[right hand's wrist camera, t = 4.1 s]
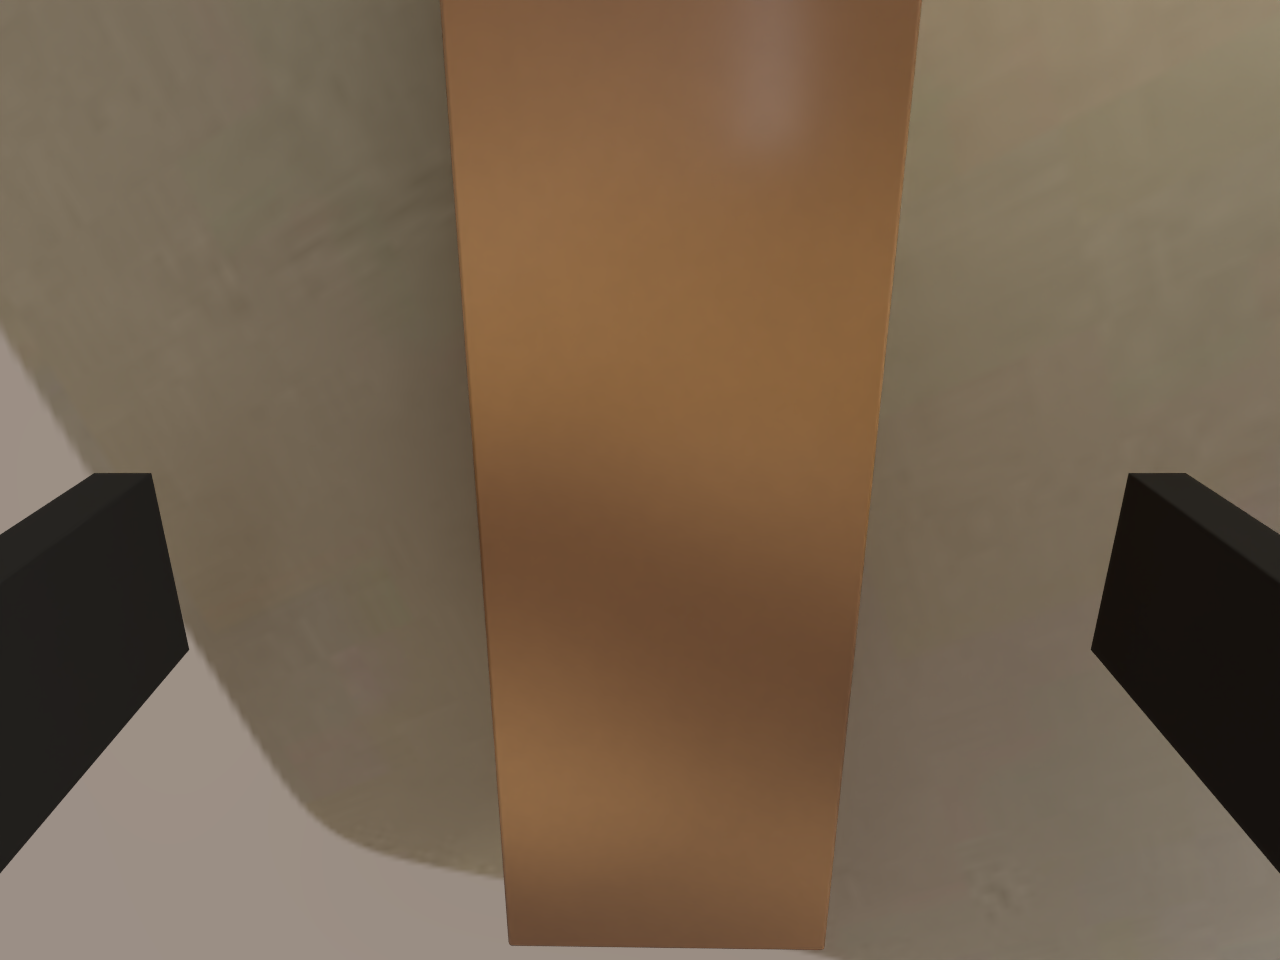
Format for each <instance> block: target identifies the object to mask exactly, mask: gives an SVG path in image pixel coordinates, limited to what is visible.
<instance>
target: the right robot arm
mask: <svg viewBox="0 0 1280 960" xmlns="http://www.w3.org/2000/svg"><path fill="white" fill-rule="evenodd" d="M188 650H189V647H188V642H187V637H186V633H185V628H184V623H183V619H182V614H181V610H180V605H179V600H178V596H177V591H176V586H175V582H174V577H173V572H172V568H171V563H170V558H169V554H168V549H167V544H166V540H165V535H164V530H163V526H162V521H161V516H160V512H159V507H158V502H157V498H156V493H155V488H154V484H153V479H152V474H151V473H94V474H92V475H91V476H89V477H88V478H86V479H85V480H83V481H82V482H80V483H79V484H77V485H76V486H74V487H73V488H71V489H69V490H68V491H66V492H65V493H63V494H62V495H60V496H59V497H57V498H56V499H54V500H53V501H51V502H50V503H48V504H47V505H45V506H44V507H42V508H40V509H39V510H37V511H36V512H34V513H33V514H31V515H30V516H28V517H27V518H25V519H24V520H22V521H21V522H19V523H17V524H16V525H15V526H13V527H11V528H10V529H8V530H7V531H5V532H4V533H2V534H1V535H0V873H1V872H2V870H3V869H4V868H5V867H6V866H7V865H8V863H9V862H10V861H11V860H12V859H13V857H14V856H15V855H16V854H17V853H18V851H19V850H20V849H21V848H22V847H23V846H24V844H25V843H26V842H27V841H28V840H29V839H30V837H31V836H32V835H33V834H34V833H35V831H36V830H37V829H38V828H39V827H40V826H41V824H42V823H43V822H44V821H45V819H46V818H47V817H48V816H49V815H50V814H51V812H52V811H53V810H54V809H55V808H56V807H57V805H58V804H59V803H60V802H61V801H62V799H63V798H64V797H65V796H66V795H67V793H68V792H69V791H70V790H71V789H72V788H73V786H74V785H75V784H76V783H77V782H78V780H79V779H80V778H81V777H82V776H83V775H84V773H85V772H86V771H87V770H88V769H89V768H90V766H91V765H92V764H93V763H94V762H95V760H96V759H97V758H98V757H99V756H100V755H101V753H102V752H103V751H104V750H105V749H106V747H107V746H108V745H109V744H110V743H111V741H112V740H113V739H114V738H115V737H116V736H117V734H118V733H119V732H120V731H121V730H122V728H123V727H124V726H125V725H126V724H127V723H128V721H129V720H130V719H131V718H132V717H133V715H134V714H135V713H136V712H137V711H138V710H139V708H140V707H141V706H142V705H143V704H144V702H145V701H146V700H147V699H148V698H149V697H150V695H151V694H152V693H153V692H154V691H155V689H156V688H157V687H158V686H159V685H160V684H161V682H162V681H163V680H164V679H165V678H166V676H167V675H168V674H169V673H170V672H171V670H172V669H173V668H174V667H175V666H176V665H177V663H178V662H179V661H180V660H181V659H182V657H183V656H184V655H185V654H186V653H187V652H188ZM1091 650H1092V652H1093V653H1094V654H1095V655H1096V656H1097V657H1098V659H1099V660H1100V661H1101V662H1102V663H1103V665H1104V666H1105V667H1106V668H1107V669H1108V671H1109V672H1110V673H1111V674H1112V675H1113V676H1114V678H1115V679H1116V680H1117V681H1118V682H1119V684H1120V685H1121V686H1122V687H1123V688H1124V689H1125V691H1126V692H1127V693H1128V694H1129V695H1130V697H1131V698H1132V699H1133V700H1134V701H1135V702H1136V704H1137V705H1138V706H1139V707H1140V708H1141V710H1142V711H1143V712H1144V713H1145V714H1146V715H1147V717H1148V718H1149V719H1150V720H1151V721H1152V723H1153V724H1154V725H1155V726H1156V727H1157V728H1158V730H1159V731H1160V732H1161V733H1162V734H1163V736H1164V737H1165V738H1166V739H1167V740H1168V742H1169V743H1170V744H1171V745H1172V746H1173V747H1174V749H1175V750H1176V751H1177V752H1178V753H1179V755H1180V756H1181V757H1182V758H1183V759H1184V760H1185V762H1186V763H1187V764H1188V765H1189V766H1190V768H1191V769H1192V770H1193V771H1194V772H1195V773H1196V775H1197V776H1198V777H1199V778H1200V779H1201V781H1202V782H1203V783H1204V784H1205V785H1206V786H1207V788H1208V789H1209V790H1210V791H1211V792H1212V794H1213V795H1214V796H1215V797H1216V798H1217V799H1218V801H1219V802H1220V803H1221V804H1222V805H1223V807H1224V808H1225V809H1226V810H1227V811H1228V813H1229V814H1230V815H1231V816H1232V817H1233V818H1234V820H1235V821H1236V822H1237V823H1238V824H1239V826H1240V827H1241V828H1242V829H1243V830H1244V831H1245V833H1246V834H1247V835H1248V836H1249V837H1250V839H1251V840H1252V841H1253V842H1254V843H1255V844H1256V846H1257V847H1258V848H1259V849H1260V850H1261V852H1262V853H1263V854H1264V855H1265V856H1266V857H1267V859H1268V860H1269V861H1270V862H1271V863H1272V865H1273V866H1274V867H1275V868H1276V869H1277V870H1278V872H1279V873H1280V535H1279V534H1278V533H1276V532H1275V531H1273V530H1272V529H1270V528H1269V527H1267V526H1266V525H1264V524H1263V523H1261V522H1259V521H1258V520H1256V519H1255V518H1253V517H1252V516H1250V515H1249V514H1247V513H1246V512H1244V511H1243V510H1241V509H1240V508H1238V507H1237V506H1235V505H1233V504H1232V503H1230V502H1229V501H1227V500H1226V499H1224V498H1223V497H1221V496H1220V495H1218V494H1217V493H1215V492H1214V491H1212V490H1211V489H1209V488H1208V487H1206V486H1204V485H1203V484H1201V483H1200V482H1198V481H1197V480H1195V479H1194V478H1192V477H1191V476H1189V475H1188V474H1186V473H1129V474H1128V479H1127V484H1126V488H1125V493H1124V498H1123V502H1122V507H1121V512H1120V516H1119V521H1118V526H1117V530H1116V535H1115V540H1114V544H1113V549H1112V554H1111V558H1110V563H1109V568H1108V572H1107V577H1106V582H1105V586H1104V591H1103V596H1102V600H1101V605H1100V609H1099V614H1098V619H1097V623H1096V628H1095V633H1094V637H1093V642H1092V647H1091Z"/></svg>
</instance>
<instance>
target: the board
mask: <svg viewBox="0 0 1280 960" xmlns="http://www.w3.org/2000/svg"><path fill="white" fill-rule="evenodd" d="M921 5H922V0H440V11H441V24H442V38H443V52H444V65H445V79H446V93H447V106H448V120H449V134H450V147H451V161H452V174H453V188H454V202H455V215H456V229H457V243H458V256H459V270H460V284H461V297H462V311H463V325H464V338H465V352H466V366H467V379H468V393H469V407H470V420H471V434H472V448H473V461H474V475H475V489H476V502H477V516H478V530H479V543H480V557H481V571H482V584H483V598H484V612H485V625H486V639H487V653H488V666H489V680H490V694H491V707H492V721H493V735H494V748H495V762H496V776H497V789H498V803H499V817H500V830H501V844H502V858H503V871H504V885H505V898H506V912H507V926H508V939H509V944H510V945H512V946H580V947H650V948H724V949H795V950H822V949H824V946H825V936H826V926H827V917H828V907H829V897H830V888H831V878H832V868H833V859H834V849H835V839H836V829H837V820H838V810H839V800H840V791H841V781H842V771H843V762H844V752H845V742H846V732H847V723H848V713H849V703H850V694H851V684H852V674H853V665H854V655H855V645H856V635H857V626H858V616H859V606H860V597H861V587H862V577H863V568H864V558H865V548H866V538H867V529H868V519H869V509H870V500H871V490H872V480H873V471H874V461H875V451H876V441H877V432H878V422H879V412H880V403H881V393H882V383H883V374H884V364H885V354H886V344H887V335H888V325H889V315H890V306H891V296H892V286H893V276H894V267H895V257H896V247H897V238H898V228H899V218H900V209H901V199H902V189H903V179H904V170H905V160H906V150H907V141H908V131H909V121H910V112H911V102H912V92H913V82H914V73H915V63H916V53H917V44H918V34H919V24H920V15H921Z"/></svg>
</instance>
